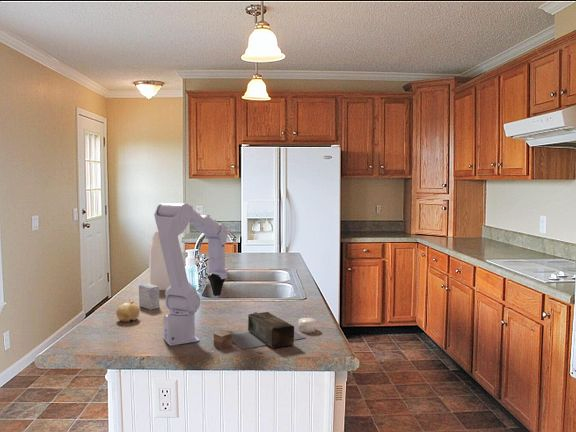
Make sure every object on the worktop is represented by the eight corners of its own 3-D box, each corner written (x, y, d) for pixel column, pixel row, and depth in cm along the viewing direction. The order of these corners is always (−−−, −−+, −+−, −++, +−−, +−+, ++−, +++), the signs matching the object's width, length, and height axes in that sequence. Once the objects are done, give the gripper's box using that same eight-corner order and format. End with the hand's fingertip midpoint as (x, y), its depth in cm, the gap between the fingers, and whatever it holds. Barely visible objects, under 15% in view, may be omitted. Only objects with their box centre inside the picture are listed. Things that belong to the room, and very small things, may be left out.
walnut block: (221, 349, 154) (221, 336, 153) (213, 346, 157) (213, 333, 156) (232, 346, 157) (231, 333, 156) (224, 343, 159) (224, 330, 159)
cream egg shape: (304, 334, 168) (304, 323, 168) (295, 329, 174) (295, 319, 173) (319, 331, 171) (319, 321, 171) (310, 326, 176) (310, 316, 176)
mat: (242, 349, 153) (242, 349, 153) (225, 336, 165) (225, 335, 165) (305, 338, 164) (305, 337, 164) (284, 326, 176) (284, 325, 176)
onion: (138, 323, 179) (137, 303, 179) (114, 324, 178) (114, 304, 177) (140, 316, 187) (140, 297, 187) (118, 317, 186) (117, 298, 185)
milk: (174, 283, 242) (173, 229, 240) (177, 288, 231) (176, 232, 229) (148, 285, 238) (147, 230, 236) (150, 290, 227) (148, 233, 225)
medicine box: (159, 308, 199) (159, 286, 198) (149, 310, 196) (149, 288, 195) (148, 304, 204) (148, 283, 204) (139, 306, 201) (138, 284, 200)
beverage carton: (268, 328, 174) (269, 309, 173) (295, 345, 157) (295, 324, 156) (247, 331, 170) (247, 312, 169) (272, 349, 153) (272, 328, 152)
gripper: (235, 259, 173) (235, 298, 175) (219, 253, 186) (220, 289, 187) (215, 261, 170) (216, 301, 171) (201, 254, 183) (201, 291, 184)
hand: (216, 295), depth 179 cm, fingers closed
